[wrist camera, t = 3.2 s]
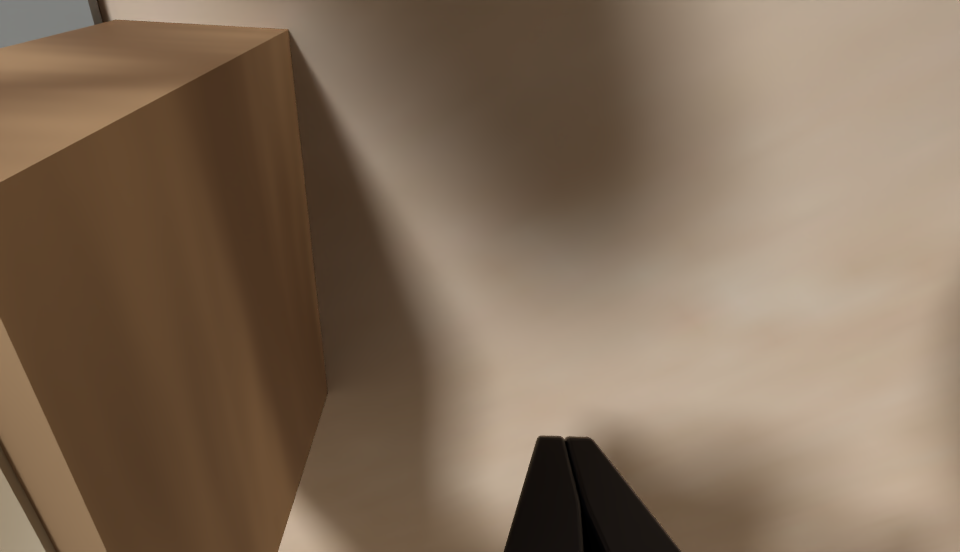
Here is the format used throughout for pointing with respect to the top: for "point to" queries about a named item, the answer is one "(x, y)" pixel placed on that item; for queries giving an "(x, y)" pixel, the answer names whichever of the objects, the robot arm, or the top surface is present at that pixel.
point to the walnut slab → (154, 291)
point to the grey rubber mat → (44, 18)
